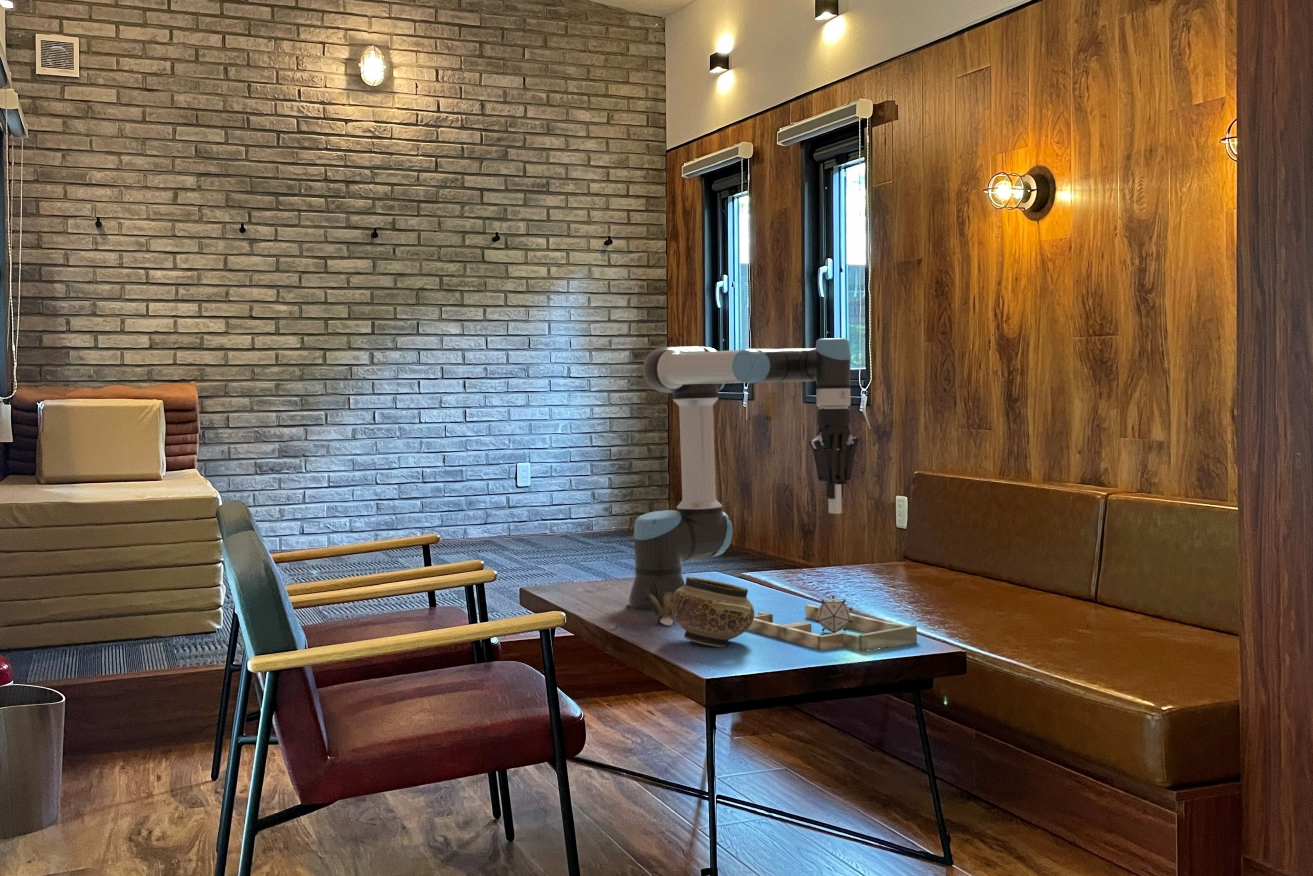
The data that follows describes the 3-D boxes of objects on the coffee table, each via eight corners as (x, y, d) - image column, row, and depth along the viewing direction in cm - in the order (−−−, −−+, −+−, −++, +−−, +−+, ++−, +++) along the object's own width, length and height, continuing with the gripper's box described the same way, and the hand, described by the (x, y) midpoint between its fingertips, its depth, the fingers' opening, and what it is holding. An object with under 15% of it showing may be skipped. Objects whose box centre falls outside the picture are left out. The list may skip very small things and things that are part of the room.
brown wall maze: (737, 628, 277) (736, 613, 277) (809, 616, 289) (809, 602, 289) (841, 656, 248) (840, 639, 248) (917, 642, 260) (916, 626, 259)
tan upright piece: (664, 622, 286) (663, 584, 286) (685, 626, 281) (685, 588, 281) (640, 627, 281) (639, 589, 280) (662, 631, 276) (661, 592, 275)
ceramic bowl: (651, 640, 267) (650, 572, 267) (723, 631, 275) (722, 565, 274) (700, 663, 245) (699, 589, 244) (777, 653, 252) (776, 581, 251)
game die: (798, 621, 270) (821, 588, 266) (817, 613, 277) (840, 581, 273) (826, 649, 266) (850, 617, 262) (845, 641, 273) (869, 609, 269)
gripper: (822, 408, 265) (824, 516, 266) (867, 406, 272) (868, 512, 273) (800, 408, 271) (801, 514, 272) (844, 406, 278) (845, 509, 279)
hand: (835, 512), depth 273 cm, fingers closed
